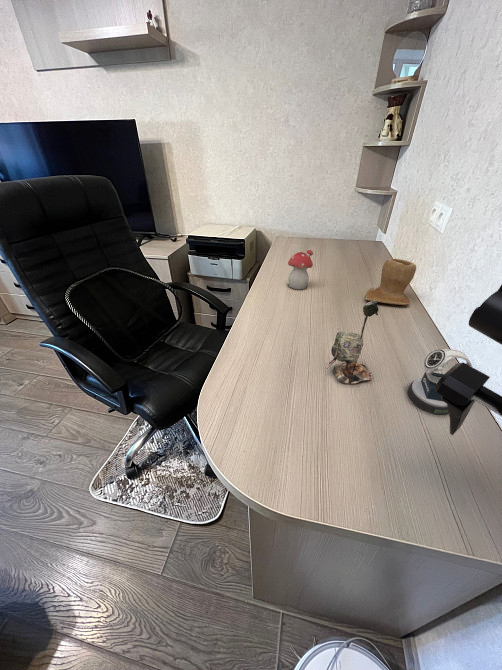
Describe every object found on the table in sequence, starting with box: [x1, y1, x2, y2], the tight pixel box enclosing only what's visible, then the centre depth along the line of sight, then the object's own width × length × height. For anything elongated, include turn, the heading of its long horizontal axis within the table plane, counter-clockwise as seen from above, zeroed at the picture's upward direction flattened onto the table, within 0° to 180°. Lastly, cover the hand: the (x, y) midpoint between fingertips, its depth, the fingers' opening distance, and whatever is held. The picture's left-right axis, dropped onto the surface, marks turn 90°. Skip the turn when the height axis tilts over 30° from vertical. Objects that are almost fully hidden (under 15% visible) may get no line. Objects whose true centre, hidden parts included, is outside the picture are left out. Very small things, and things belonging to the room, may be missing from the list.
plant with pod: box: [325, 300, 379, 384], centre depth 64 cm, size 8×11×20 cm
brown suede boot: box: [364, 257, 417, 306], centre depth 99 cm, size 15×12×15 cm
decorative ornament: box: [287, 249, 314, 290], centre depth 107 cm, size 9×6×15 cm
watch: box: [421, 348, 473, 401], centre depth 59 cm, size 6×8×11 cm
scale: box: [407, 377, 449, 416], centre depth 63 cm, size 9×9×3 cm
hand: (487, 457), depth 38 cm, fingers open, 9 cm apart
